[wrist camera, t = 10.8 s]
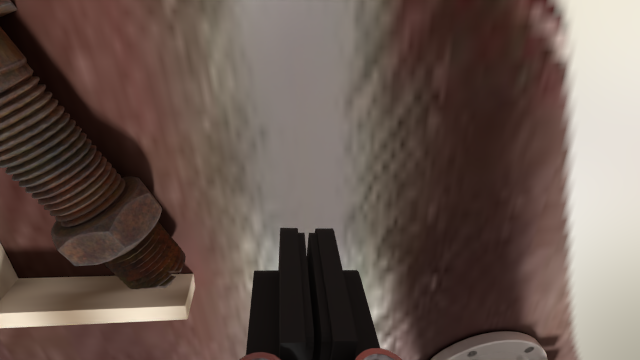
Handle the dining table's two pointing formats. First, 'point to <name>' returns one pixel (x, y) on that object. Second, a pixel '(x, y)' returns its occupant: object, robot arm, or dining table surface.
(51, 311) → the dock
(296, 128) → the dining table surface
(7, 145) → the bolt
